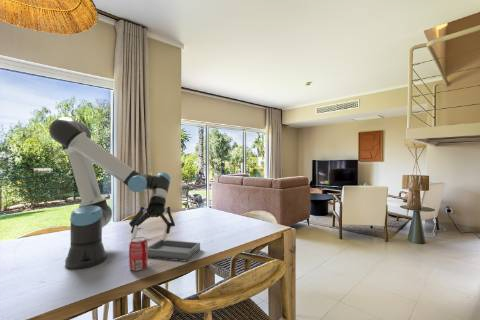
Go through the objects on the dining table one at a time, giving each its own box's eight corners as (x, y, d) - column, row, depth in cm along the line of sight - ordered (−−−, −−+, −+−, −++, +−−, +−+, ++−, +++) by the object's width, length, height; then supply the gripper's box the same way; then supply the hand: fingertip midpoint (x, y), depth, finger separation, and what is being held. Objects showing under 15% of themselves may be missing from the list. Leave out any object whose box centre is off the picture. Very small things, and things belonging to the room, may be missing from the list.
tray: (144, 256, 111) (144, 248, 111) (160, 246, 125) (160, 239, 125) (187, 261, 106) (187, 253, 106) (200, 249, 120) (200, 242, 120)
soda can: (142, 262, 105) (142, 235, 105) (150, 267, 100) (150, 238, 100) (125, 268, 99) (126, 239, 99) (134, 273, 95) (134, 243, 95)
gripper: (184, 203, 123) (178, 243, 109) (134, 204, 122) (122, 244, 107) (182, 195, 118) (175, 236, 103) (130, 195, 116) (116, 236, 102)
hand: (148, 240), depth 105 cm, fingers open, 13 cm apart
